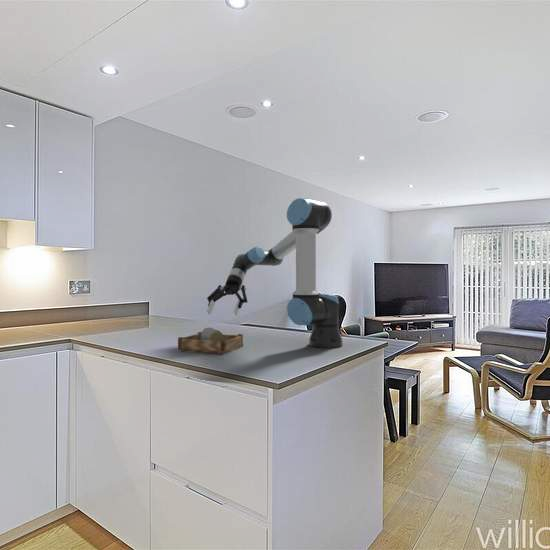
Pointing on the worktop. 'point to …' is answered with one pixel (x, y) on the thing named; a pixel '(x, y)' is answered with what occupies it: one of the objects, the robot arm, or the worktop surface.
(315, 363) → the worktop surface
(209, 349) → the crate
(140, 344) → the worktop surface
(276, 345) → the worktop surface
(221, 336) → the ceramic mug
